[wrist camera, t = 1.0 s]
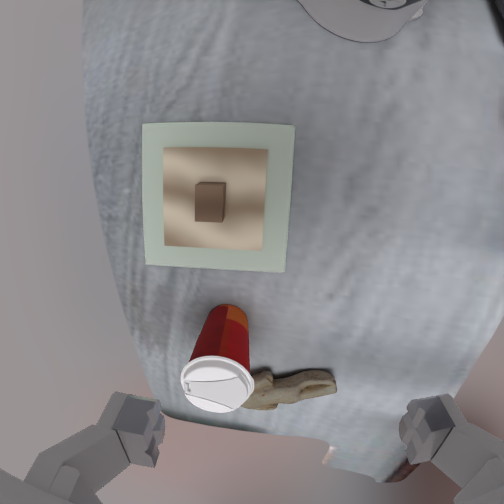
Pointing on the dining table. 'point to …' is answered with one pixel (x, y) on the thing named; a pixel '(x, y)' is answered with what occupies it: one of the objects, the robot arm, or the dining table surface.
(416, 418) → the robot arm
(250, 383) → the paper cup
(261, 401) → the sculpture
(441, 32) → the dining table surface
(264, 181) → the lid
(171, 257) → the mat
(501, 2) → the bluetooth speaker
